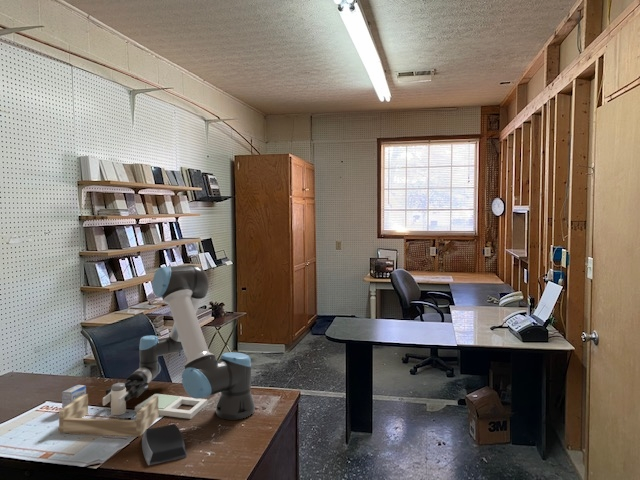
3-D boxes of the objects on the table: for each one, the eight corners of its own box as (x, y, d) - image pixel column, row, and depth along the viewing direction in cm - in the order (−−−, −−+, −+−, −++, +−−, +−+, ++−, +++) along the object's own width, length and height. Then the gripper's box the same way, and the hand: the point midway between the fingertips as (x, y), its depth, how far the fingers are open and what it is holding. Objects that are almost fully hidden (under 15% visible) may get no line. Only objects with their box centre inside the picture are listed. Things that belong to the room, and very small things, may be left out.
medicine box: (71, 414, 170) (71, 392, 169) (61, 413, 171) (61, 391, 170) (86, 406, 177) (86, 385, 177) (76, 405, 178) (76, 384, 178)
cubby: (84, 414, 170) (84, 393, 170) (158, 416, 169) (158, 396, 169) (59, 433, 155) (59, 411, 154) (140, 436, 154) (140, 413, 153)
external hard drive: (145, 467, 135) (145, 454, 135) (140, 439, 153) (140, 427, 152) (189, 458, 141) (189, 445, 141) (179, 432, 159) (179, 420, 158)
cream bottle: (128, 409, 170) (128, 383, 170) (120, 415, 165) (120, 388, 165) (116, 408, 171) (116, 381, 171) (107, 414, 166) (107, 386, 166)
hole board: (207, 404, 182) (207, 398, 182) (190, 418, 168) (190, 412, 168) (155, 398, 187) (155, 392, 187) (134, 412, 173) (134, 406, 173)
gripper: (160, 389, 186) (135, 412, 163) (117, 387, 186) (87, 411, 163) (160, 371, 185) (135, 392, 162) (117, 370, 186) (87, 391, 163)
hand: (111, 402), depth 163 cm, fingers closed on cream bottle, 5 cm apart
